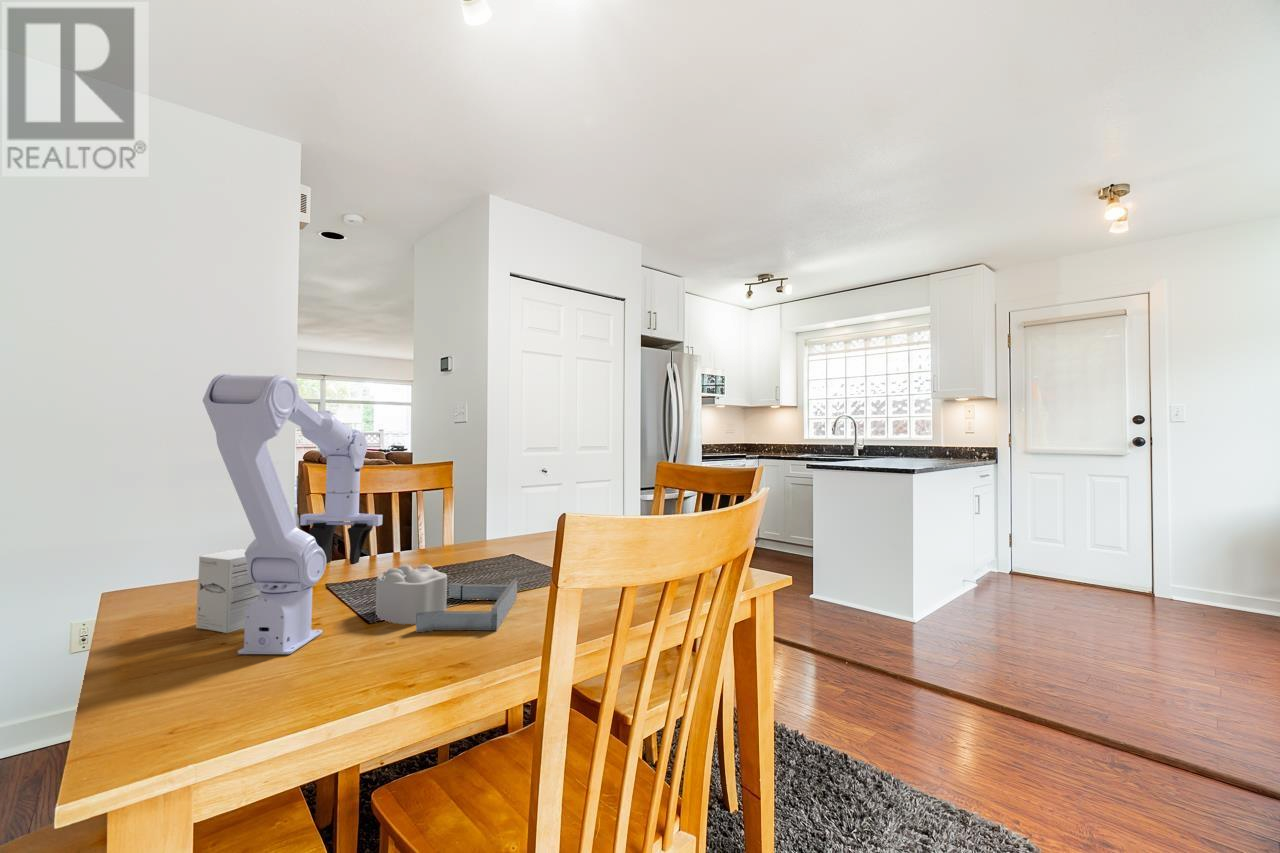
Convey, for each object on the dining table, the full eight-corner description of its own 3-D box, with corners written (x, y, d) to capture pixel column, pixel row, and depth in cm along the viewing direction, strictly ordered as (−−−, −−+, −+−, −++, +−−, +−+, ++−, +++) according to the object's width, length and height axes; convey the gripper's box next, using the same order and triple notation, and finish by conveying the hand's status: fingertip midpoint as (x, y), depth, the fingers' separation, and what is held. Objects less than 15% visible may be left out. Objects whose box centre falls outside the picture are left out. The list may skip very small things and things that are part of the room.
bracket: (495, 633, 94) (495, 610, 94) (412, 633, 93) (413, 609, 93) (517, 597, 115) (518, 578, 115) (451, 596, 114) (451, 577, 114)
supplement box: (194, 629, 93) (197, 555, 93) (237, 616, 100) (240, 547, 100) (225, 634, 91) (228, 559, 91) (267, 620, 98) (270, 550, 98)
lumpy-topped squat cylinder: (412, 627, 96) (413, 578, 96) (360, 616, 101) (361, 570, 101) (453, 610, 106) (454, 566, 106) (404, 601, 111) (405, 559, 111)
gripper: (390, 490, 108) (387, 558, 107) (315, 489, 107) (313, 557, 107) (374, 494, 101) (371, 567, 100) (294, 492, 100) (292, 566, 100)
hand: (340, 563), depth 103 cm, fingers open, 5 cm apart
